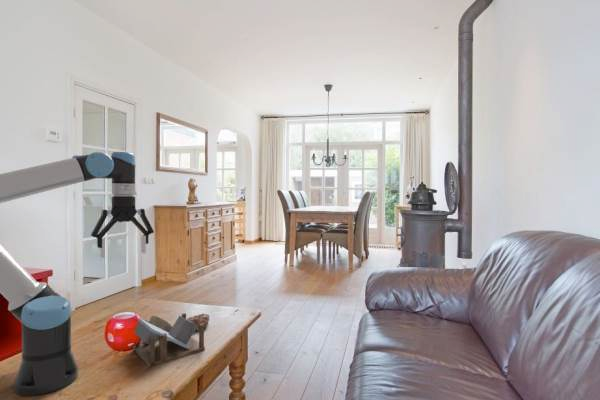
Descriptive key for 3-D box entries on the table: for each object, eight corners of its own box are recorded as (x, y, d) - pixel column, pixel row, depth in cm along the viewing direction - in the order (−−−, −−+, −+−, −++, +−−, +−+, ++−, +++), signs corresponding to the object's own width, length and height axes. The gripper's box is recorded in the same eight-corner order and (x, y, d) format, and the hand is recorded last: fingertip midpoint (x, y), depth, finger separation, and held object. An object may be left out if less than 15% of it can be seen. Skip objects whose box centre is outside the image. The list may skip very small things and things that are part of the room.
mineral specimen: (201, 331, 139) (192, 316, 139) (185, 340, 140) (177, 325, 141) (213, 320, 151) (205, 306, 151) (199, 328, 152) (191, 314, 152)
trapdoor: (144, 342, 114) (152, 329, 116) (131, 330, 124) (139, 318, 126) (183, 359, 123) (190, 347, 124) (168, 347, 133) (175, 336, 134)
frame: (150, 368, 113) (150, 339, 113) (132, 348, 127) (132, 323, 127) (206, 350, 126) (206, 325, 125) (184, 335, 139) (184, 311, 139)
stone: (174, 331, 146) (180, 315, 142) (169, 345, 140) (175, 329, 136) (148, 324, 144) (153, 307, 140) (142, 338, 138) (147, 321, 134)
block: (174, 338, 124) (185, 319, 127) (168, 333, 128) (179, 315, 131) (186, 344, 127) (197, 325, 130) (180, 339, 131) (191, 321, 134)
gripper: (85, 195, 117) (86, 260, 118) (162, 195, 134) (162, 252, 134) (81, 195, 123) (81, 257, 123) (155, 195, 139) (155, 250, 140)
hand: (123, 255), depth 129 cm, fingers open, 13 cm apart
